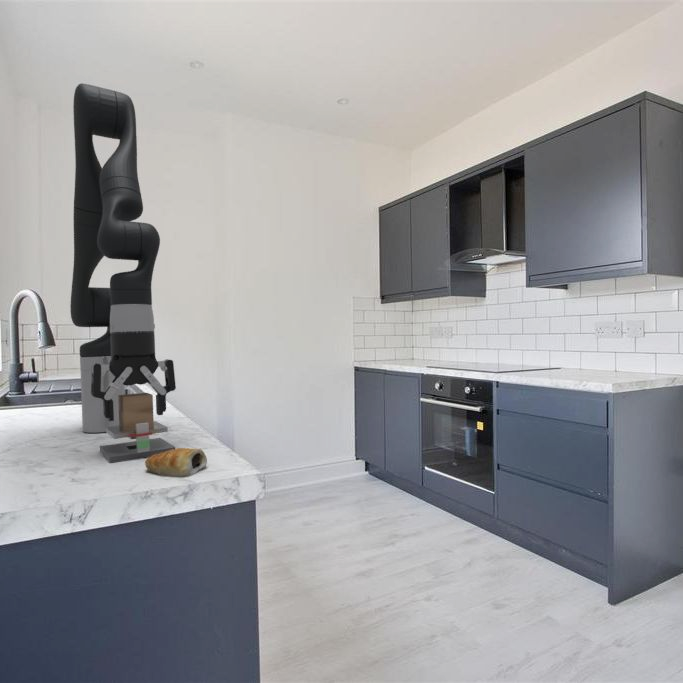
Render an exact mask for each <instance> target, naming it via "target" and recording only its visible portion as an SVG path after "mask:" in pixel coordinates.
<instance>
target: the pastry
mask: <svg viewBox="0 0 683 683" xmlns="http://www.w3.org/2000/svg"><path fill="white" fill-rule="evenodd" d="M144 464H145V468H146V469H147V471H148V472H150V473H153V474H156V475H158V476H165V477H166V476H167V477H177V478H179V477H189V476H193V475H195V474H196V473H197V472H199V471H201V470H202V469H204V468H205V467H206V466H207V464H208V458H207V456H206V453H205V452H204V450H203V449H202V448H188V447H187V448H186V447H178V448H175V449H172V450H169V451H166V452H162V453H160V454H155V455H152V456H151V457H147V458H146V459H145V463H144Z"/></svg>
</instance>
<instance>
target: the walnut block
mask: <svg viewBox="0 0 683 683" xmlns="http://www.w3.org/2000/svg"><path fill="white" fill-rule="evenodd" d="M118 406H119V427H120V428H121V429H122V430H124V431H130V430H136V424H140V423H149V428H153V427H154V421H155V420H154V398H153V394H152V393H148V392H139V393H137V392H136V393H129V394H128V393H127V394H126V393H125V395H118Z"/></svg>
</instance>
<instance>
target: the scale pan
mask: <svg viewBox="0 0 683 683" xmlns="http://www.w3.org/2000/svg"><path fill="white" fill-rule="evenodd" d="M168 429H169V428H168V426H166V425H164V424H162V423H160V422H158V421H156V420H154V427H153V428H149V432H148V433H141V434H136V430H130V431H124V430H122V429H121V428H120V427H119V426H110V427H106V432H105V433H107V434H108V435H109V436H111V438H112V439H114V440H117V439H124V438H128V439H130V440H136V437H139V436H146V435H149V436H152V435H154V434H163V433H168V432H169V430H168Z"/></svg>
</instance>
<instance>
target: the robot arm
mask: <svg viewBox="0 0 683 683" xmlns="http://www.w3.org/2000/svg"><path fill="white" fill-rule="evenodd" d="M75 87H76V88H75V90H74V96H73V108H72V109H73V131H74V132H73V133H74V134H73V135H74V154H75V156H74V157H75V170H74V171H75V173H74V174H75V175H74V192H73V194H74V198H73V269H72V281H71V294H70V319H71V321H72V323H73V325H74V326H75V327H79V328H106V332H105V333H104V334H103V335H101V336H99V337H98V338H96V339H94V340H90V341H88V342H85V343H82V344H81V345H80V346H79V363H80V364H79V366H80V367H79V368H80V390H81V392H80V394H81V422H82V432H83V433H92V434H95V433H107V432H106V427H110V426H119V406H118V395H125V394H126V387H128V386H133V385H140V386H141V385H145V384H148V385H149V386H150V387H151V388H152V389H153V390H154V391H155V393H156V394H155V408H156V409H155V412H156V415H158V416H163V415H164V412H165V413H166V410H167V394H168V393H170V392H174V391H175V390H176V389H177V388H176V387H177V386H176V385H177V384H176V377H175V375H176V374H175V366H174V360H173V359H169V358H168V359H164V360H157V357H156V342H155V341H156V338H155V337H156V336H155V328H156V327H155V326H156V325H155V318H154V310H153V300H152V299H153V298H152V296H153V295H152V293H153V292H152V283H153V281H152V280H153V273H154V270H155V269H154V268H155V264H156V260H157V257H158V254H159V250H160V246H161V245H160V244H161V238H160V235H159V232H158V230H157V228H156V227H155V226H154V225H153V224H151V223H147V222H141V221H140V222H139V221H138V222H137V221H135V220H137V219H139V218H140V217H141V216H142V214H143V212H144V204H143V203H144V202H143V199H142V193H141V188H140V182H139V177H138V176H139V174H138V142H137V141H138V140H137V139H138V138H137V137H138V136H137V119H136V118H137V116H136V111H135V110H136V109H135V105H134V102H133V100H132V98H131V97H130V95H128V94H127V93H124V92H120V91H117V90H113V89H109V88H105V87H101V86H97V85H92V84H90V83H89V84H88V83H79V84H78V85H77V86H75ZM93 136H96V137H102V138H108V139H112V140H113V139H114V140H118V141H119V143H118V146H117V147H116V149H115V150H114V151H113V153H112V154H111V155H110V156H109V158H108V159H107V160H106V162H105V163H104V164H103V166H101V164H100V161H99V159H98V156H97V153H96V150H95V146H94V141H93V139H94V138H93ZM104 257H105V258H107V259H110V260H111V259H112V260H122V261H123V260H124V261H126V260H127V261H138V263H137V266H136V268H135V269H134V270H130V271H129V270H128V271H123V272H122V271H121V272H117V273H114V274H112V275H111V277H110V279H109V287H96V286H95V287H94V286H93V287H91V286H90V282H91V279H92V276H93V274H94V272H95V270H96V268H97V266H98V265H99V263H100V262H101V260H102V259H103V258H104ZM158 368H160V370H161V372H163V373H164V381H165V385H162V384H161V383H160V381H159V380H158V379H157V378H156V377H155V375H154V373H156V370H157V369H158ZM125 386H126V387H125Z"/></svg>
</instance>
